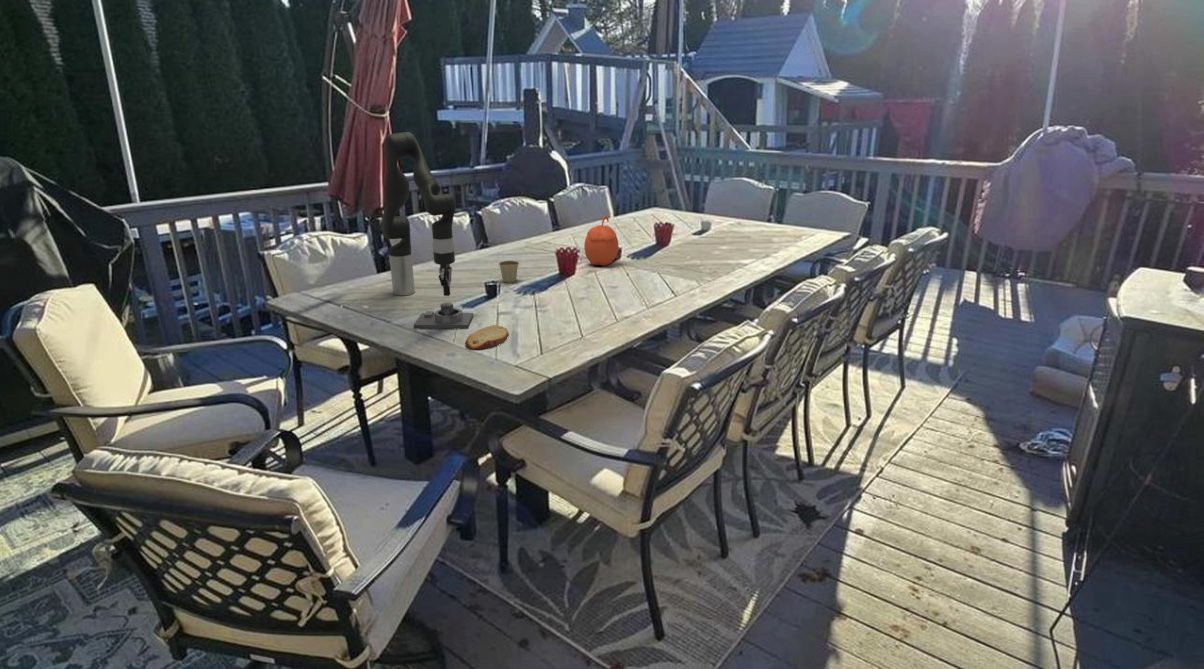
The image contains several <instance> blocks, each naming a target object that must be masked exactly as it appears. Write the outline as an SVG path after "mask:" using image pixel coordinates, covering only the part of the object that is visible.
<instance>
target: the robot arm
mask: <svg viewBox="0 0 1204 669" xmlns="http://www.w3.org/2000/svg"><path fill="white" fill-rule="evenodd" d="M384 152H385V153H384V154H385V157H384V158H385V181H384V209H383V216H382V226H381V227H382V229H381V230H382V234H383V236H384V238H385V239H387V240H399V239H400V241H399V242H398V243H396V244H394V245H392V246H389V248H388V257H389V258H388V260H389V265H390V266H389V267H390V274H391V276H390V277H391V285H392V294H393V295H394V296H409V295H413V294H415V293H416V290H415V288H416V287H415V277H414V268H413V254H412V245H411V244H412V243H411V242H412V241H411V225H410V224H411V223H410V221H409V218H408V217H407V216H405V215H399V216H396V214H397V213H398V212H399V211H400V210H401V209H402V208H403V207H404V206H405V204H406V203H407V202H408V199H409V197H410V181H409V180H408V178H407V176H406V175H405V174H404V173H403V171H402V170H401V168H400V167H399V165H398V161H399V160H403V159H408V158H412V159H413V161H414V168H413V173H412V175H413V176H412V177H413V182H414V183H415V185H416V187H417V189H418V190H419V192H420V194H421V195H422V196H421V197H422V199H423V203H424V208H425V211H426V212H427V213H428V214H429V215H431V216H441V217H440V219H438V220H436V221H433V223H432V224H431V230H432V232H431V233H432V254H433V262H434V264H435V265H439V266H440V267H439V268H438V274H439V275H438V280H439V282H440V286H441V287H442V289H443V296H445V297H449V296H450V295H451V282H452V273H453V271H452V270H453V267H452V266H451V265H452V264H454V263H455V261H456V256H455V242H454V236H453V222H454V216H455V211H456V201H455V199H454V197H453V195H451V194H450V193H445V194H443V193H442V194H440V191H441V186H440V184H439V182H438V180H437V179H436V178H435V176H434V175H433V173H432V171H431V170H430V168H429V165H428V163H427V161H426V160H427V159H425V155H424V154H423V151H422V149H421V146H420V144H419V142H418V140H417V138H416V137H415V135H414V134H413V133H412V132H410V131H404V132H396V133H389V134H388V135H386V137H385V139H384Z"/></svg>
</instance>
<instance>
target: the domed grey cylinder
mask: <svg viewBox="0 0 1204 669" xmlns="http://www.w3.org/2000/svg"><path fill="white" fill-rule="evenodd" d="M453 308H454V304H453V303H452V302H443V303H441V304H440V309H441V315H454V310H453Z"/></svg>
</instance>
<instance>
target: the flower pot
mask: <svg viewBox="0 0 1204 669" xmlns="http://www.w3.org/2000/svg"><path fill="white" fill-rule="evenodd" d="M519 264H520V262H519V261H516V260H503V261H500V262H498V265H499V269H500V272H501V277H502V282H503V283H509V284H510V283H514V282H517V279H518V278H517V276H518V269H519V268H518V267H519Z"/></svg>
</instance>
